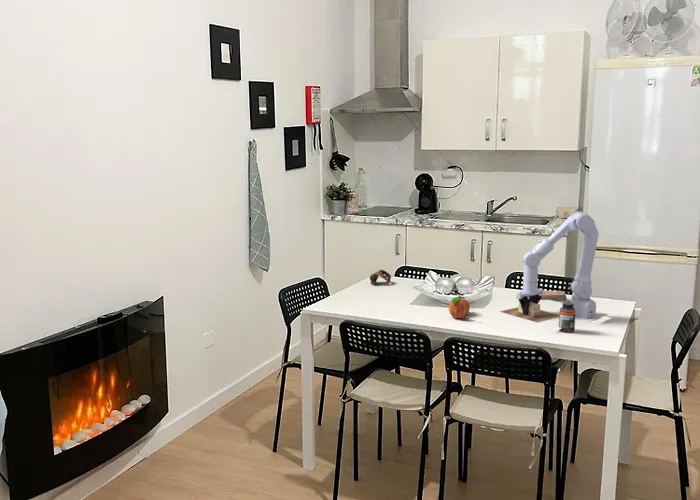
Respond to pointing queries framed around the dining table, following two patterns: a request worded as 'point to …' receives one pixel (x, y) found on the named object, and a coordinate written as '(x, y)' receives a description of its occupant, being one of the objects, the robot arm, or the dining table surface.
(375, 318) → the dining table surface
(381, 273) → the brown arch piece
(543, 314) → the walnut board
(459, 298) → the fruit
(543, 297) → the packaged product
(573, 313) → the supplement bottle
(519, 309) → the block
